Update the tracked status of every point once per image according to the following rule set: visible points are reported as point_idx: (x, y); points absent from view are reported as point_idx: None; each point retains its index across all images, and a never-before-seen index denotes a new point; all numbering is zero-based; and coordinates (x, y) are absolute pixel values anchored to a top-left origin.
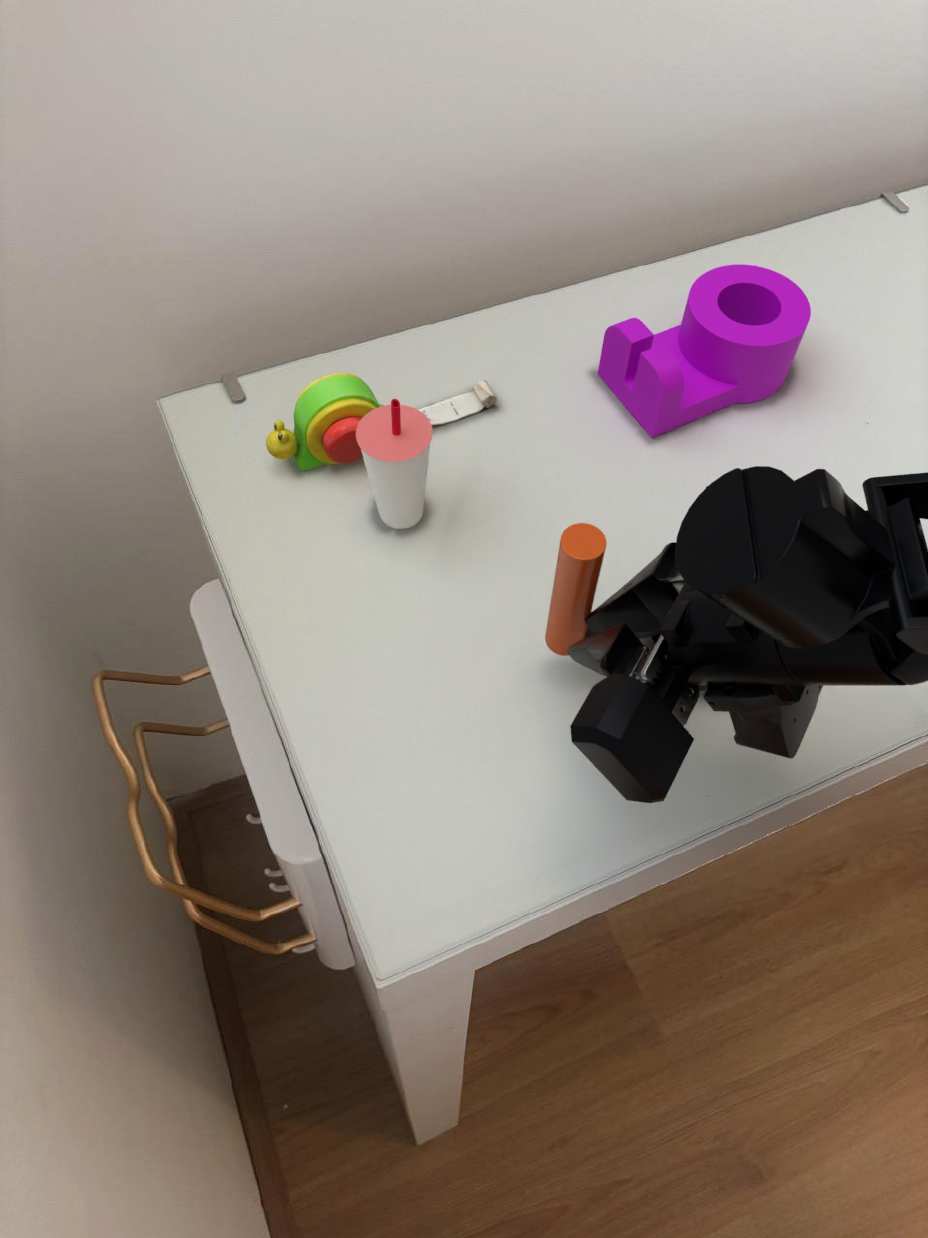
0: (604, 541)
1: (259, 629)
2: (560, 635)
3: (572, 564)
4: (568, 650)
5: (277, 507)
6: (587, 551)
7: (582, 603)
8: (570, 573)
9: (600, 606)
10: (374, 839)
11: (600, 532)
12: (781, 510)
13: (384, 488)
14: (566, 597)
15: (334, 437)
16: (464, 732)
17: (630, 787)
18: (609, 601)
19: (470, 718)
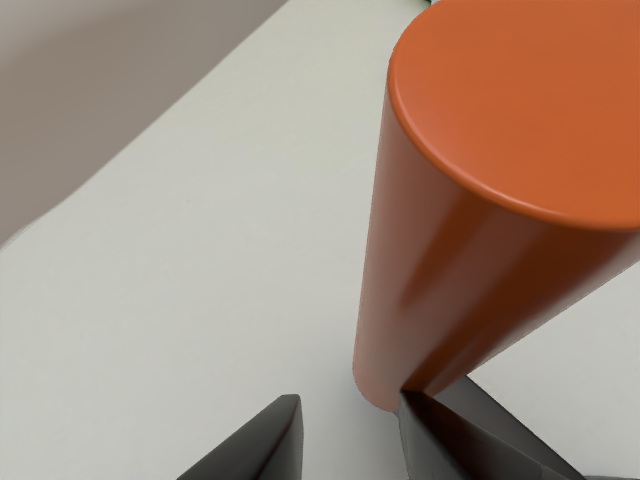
0: None
1: (222, 66)
2: (355, 355)
3: (380, 149)
4: (274, 401)
5: (364, 5)
6: (510, 133)
7: (391, 353)
8: (373, 205)
9: (444, 414)
10: (9, 303)
11: None
12: None
13: (434, 3)
14: (364, 291)
15: None
16: (203, 318)
17: None
18: (461, 445)
19: (228, 313)
